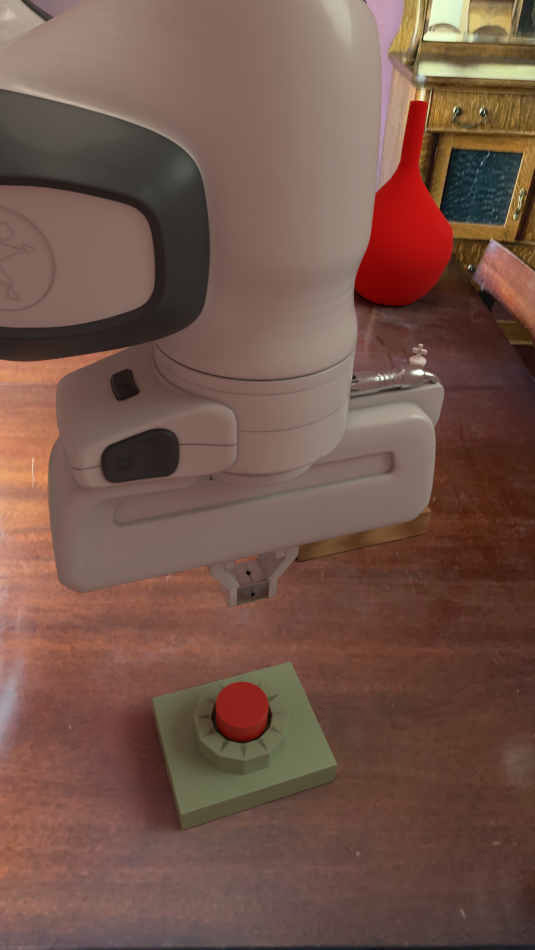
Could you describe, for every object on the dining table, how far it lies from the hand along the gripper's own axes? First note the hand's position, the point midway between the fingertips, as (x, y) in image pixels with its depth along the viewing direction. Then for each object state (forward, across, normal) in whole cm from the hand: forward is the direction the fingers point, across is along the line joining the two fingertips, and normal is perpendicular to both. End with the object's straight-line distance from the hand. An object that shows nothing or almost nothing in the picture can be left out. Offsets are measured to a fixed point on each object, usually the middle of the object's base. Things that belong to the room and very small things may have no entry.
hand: (247, 594), depth 39 cm
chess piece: (+17, -34, -37) cm, 53 cm away
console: (+16, -18, -22) cm, 33 cm away
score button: (+13, 0, 0) cm, 13 cm away
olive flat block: (+16, 0, 0) cm, 16 cm away
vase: (+17, -50, -73) cm, 90 cm away
